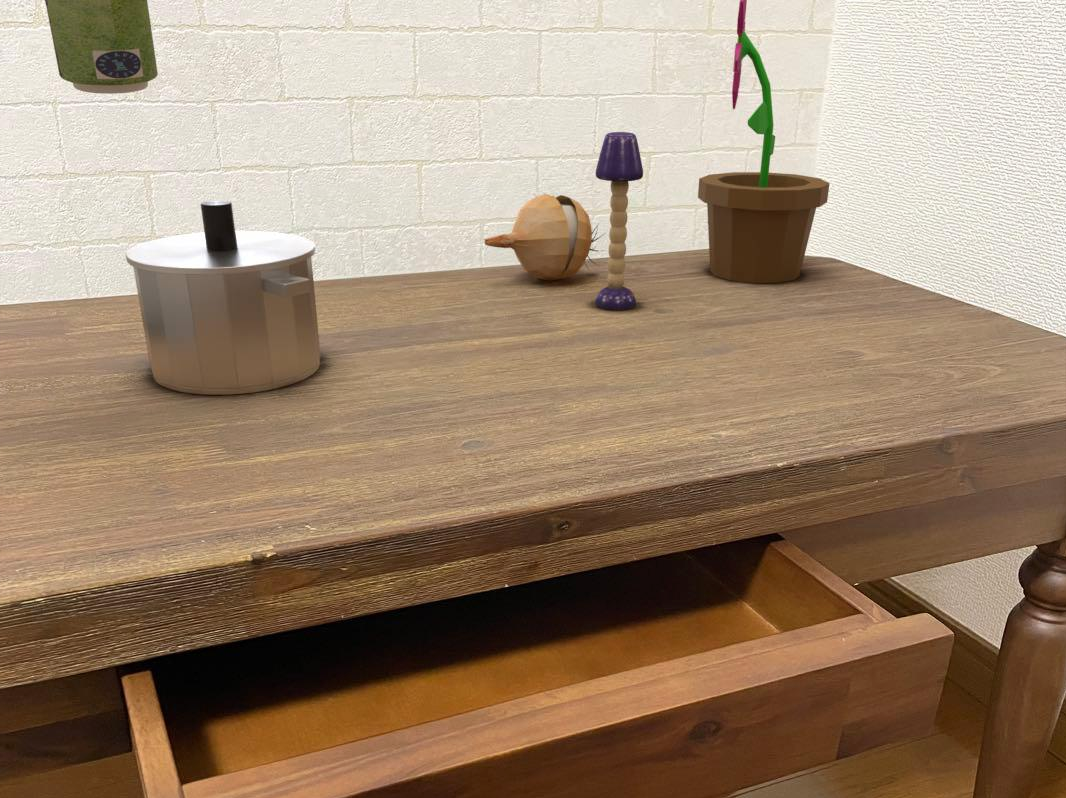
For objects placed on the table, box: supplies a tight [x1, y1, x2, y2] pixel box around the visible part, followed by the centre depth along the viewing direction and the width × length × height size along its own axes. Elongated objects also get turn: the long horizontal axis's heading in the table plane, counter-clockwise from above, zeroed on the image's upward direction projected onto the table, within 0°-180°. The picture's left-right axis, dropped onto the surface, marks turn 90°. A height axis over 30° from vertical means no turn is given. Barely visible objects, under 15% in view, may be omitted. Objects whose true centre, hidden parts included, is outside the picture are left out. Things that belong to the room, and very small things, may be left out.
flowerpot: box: [697, 0, 831, 284], centre depth 114 cm, size 14×14×30 cm
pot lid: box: [125, 199, 316, 275], centre depth 83 cm, size 15×15×5 cm
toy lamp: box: [594, 131, 644, 311], centre depth 103 cm, size 5×5×17 cm
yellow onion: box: [483, 193, 606, 282], centre depth 115 cm, size 9×9×15 cm
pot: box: [132, 256, 322, 396], centre depth 86 cm, size 14×19×10 cm
